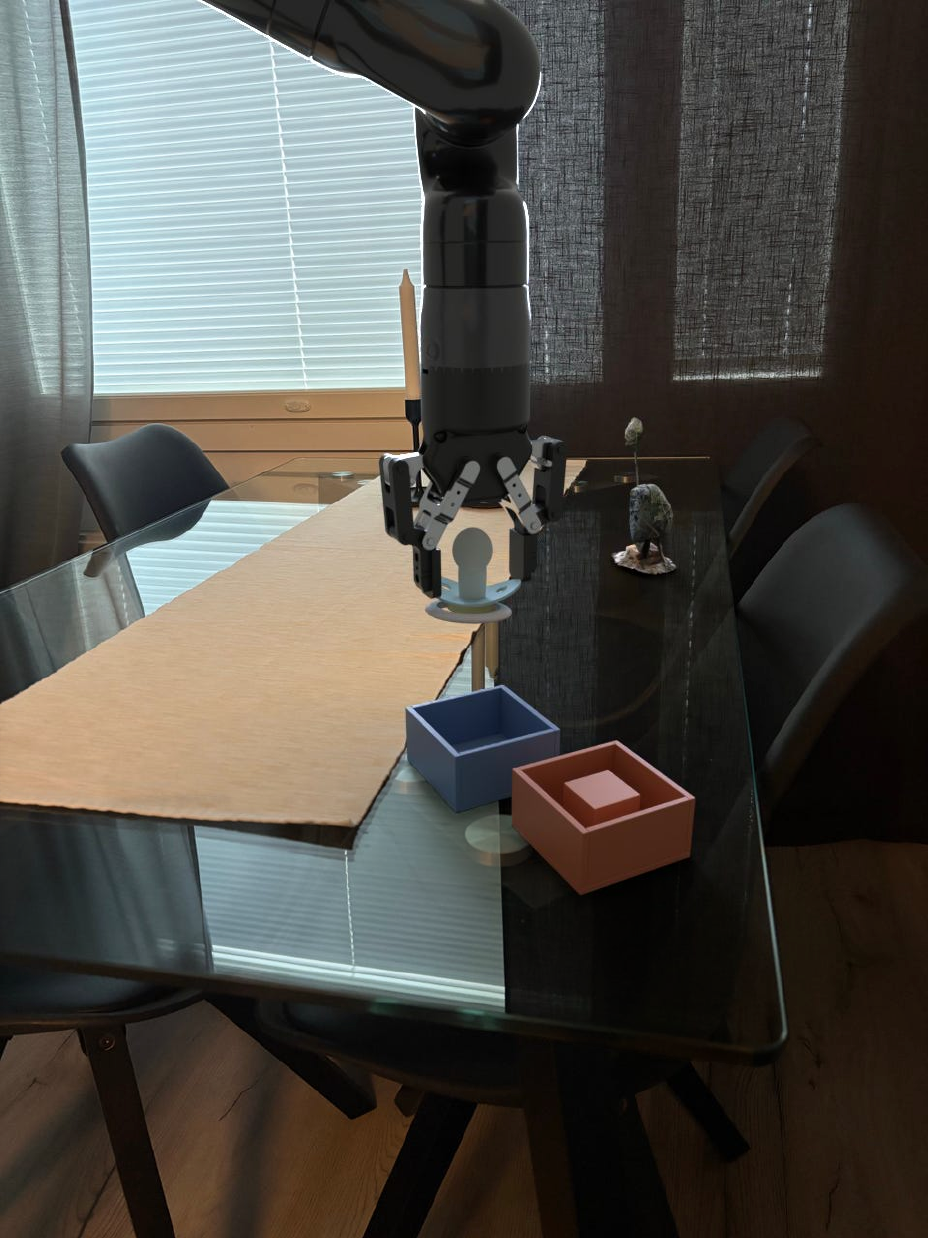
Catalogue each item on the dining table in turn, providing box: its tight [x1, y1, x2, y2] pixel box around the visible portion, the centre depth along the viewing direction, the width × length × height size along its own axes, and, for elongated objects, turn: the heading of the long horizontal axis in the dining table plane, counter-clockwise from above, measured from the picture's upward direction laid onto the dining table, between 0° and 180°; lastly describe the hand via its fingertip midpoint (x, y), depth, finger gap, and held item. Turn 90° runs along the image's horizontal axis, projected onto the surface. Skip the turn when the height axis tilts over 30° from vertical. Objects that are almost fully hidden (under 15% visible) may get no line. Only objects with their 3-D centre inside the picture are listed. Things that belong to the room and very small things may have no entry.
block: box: [563, 770, 640, 829], centre depth 70 cm, size 4×4×4 cm
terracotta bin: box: [511, 739, 696, 896], centre depth 70 cm, size 10×10×5 cm
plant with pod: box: [610, 417, 677, 575], centre depth 127 cm, size 8×11×20 cm
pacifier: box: [424, 526, 522, 625], centre depth 70 cm, size 7×6×6 cm
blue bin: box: [404, 684, 561, 813], centre depth 80 cm, size 10×10×5 cm
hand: (476, 586), depth 71 cm, fingers closed on pacifier, 7 cm apart
